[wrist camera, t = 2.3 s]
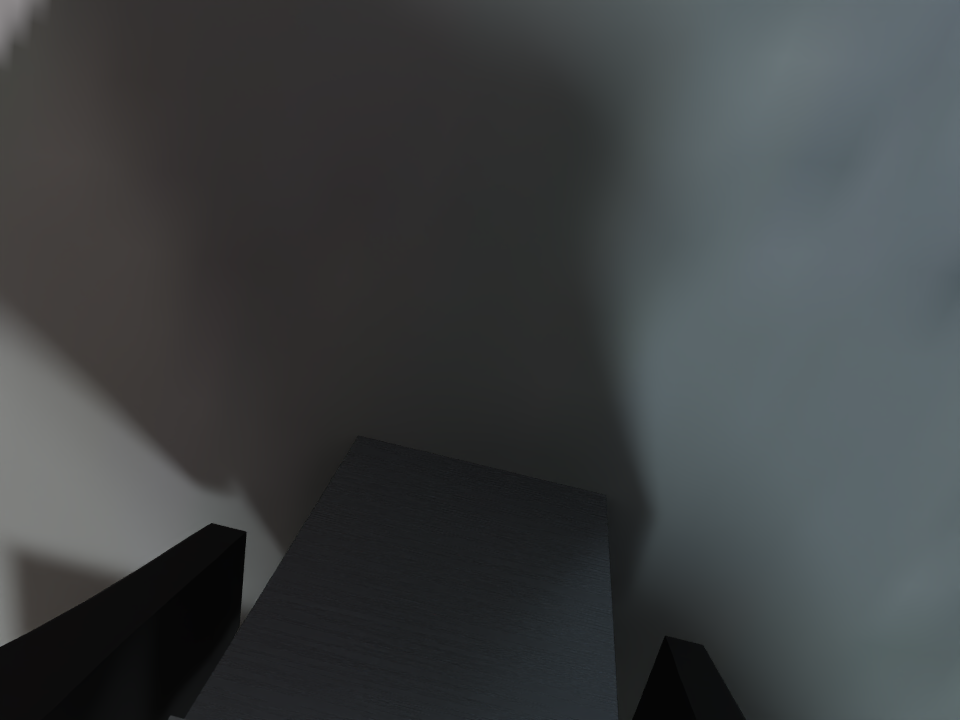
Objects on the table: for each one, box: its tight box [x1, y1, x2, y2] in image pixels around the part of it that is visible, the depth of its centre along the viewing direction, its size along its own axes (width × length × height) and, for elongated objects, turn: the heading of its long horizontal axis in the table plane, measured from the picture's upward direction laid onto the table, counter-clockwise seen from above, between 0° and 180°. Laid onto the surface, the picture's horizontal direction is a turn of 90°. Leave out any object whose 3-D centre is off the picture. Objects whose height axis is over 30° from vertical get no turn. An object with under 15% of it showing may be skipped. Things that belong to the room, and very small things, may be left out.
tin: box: [168, 436, 618, 720], centre depth 10 cm, size 5×5×6 cm
